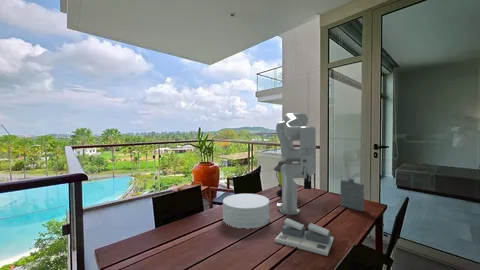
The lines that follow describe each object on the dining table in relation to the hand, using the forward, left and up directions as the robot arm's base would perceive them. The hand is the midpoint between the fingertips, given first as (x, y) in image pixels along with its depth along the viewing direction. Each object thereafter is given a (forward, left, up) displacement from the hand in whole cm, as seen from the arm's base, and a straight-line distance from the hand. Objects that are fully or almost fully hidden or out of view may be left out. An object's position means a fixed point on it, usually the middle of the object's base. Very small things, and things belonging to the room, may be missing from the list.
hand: (307, 188), depth 114 cm
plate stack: (-39, +6, -25) cm, 46 cm away
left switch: (-7, -2, -19) cm, 20 cm away
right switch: (+5, -2, -19) cm, 20 cm away
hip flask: (+14, +58, -25) cm, 65 cm away
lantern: (-35, +65, -25) cm, 78 cm away
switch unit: (-1, -4, -25) cm, 25 cm away
